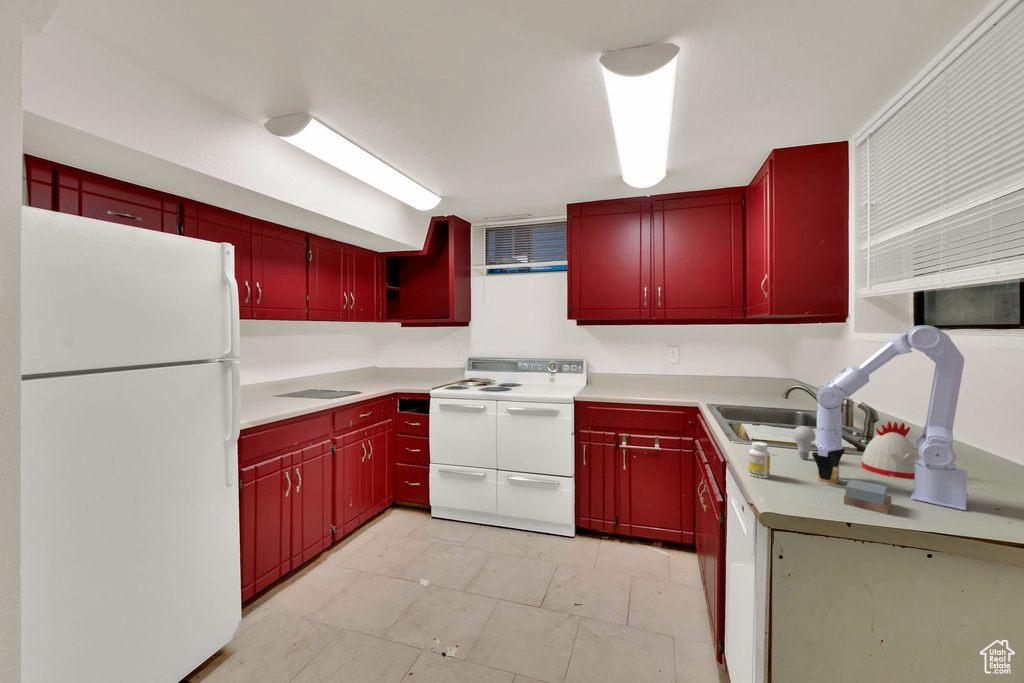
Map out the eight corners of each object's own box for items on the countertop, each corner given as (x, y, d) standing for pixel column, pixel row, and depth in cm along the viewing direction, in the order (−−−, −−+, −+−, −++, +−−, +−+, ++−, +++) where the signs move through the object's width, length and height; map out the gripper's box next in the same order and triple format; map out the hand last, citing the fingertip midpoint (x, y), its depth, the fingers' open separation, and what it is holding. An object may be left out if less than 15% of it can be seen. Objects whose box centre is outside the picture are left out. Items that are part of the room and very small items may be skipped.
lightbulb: (819, 461, 135) (820, 428, 135) (800, 462, 135) (801, 428, 135) (806, 456, 141) (807, 423, 141) (788, 456, 141) (788, 424, 141)
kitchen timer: (935, 481, 118) (936, 428, 117) (875, 476, 122) (876, 425, 122) (906, 465, 131) (907, 418, 130) (853, 461, 135) (854, 415, 135)
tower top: (886, 496, 103) (886, 486, 103) (883, 504, 98) (883, 494, 98) (850, 488, 108) (850, 479, 108) (845, 496, 103) (845, 486, 103)
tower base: (891, 506, 103) (891, 496, 103) (886, 516, 97) (887, 505, 97) (850, 496, 109) (850, 487, 109) (843, 506, 103) (843, 496, 103)
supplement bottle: (756, 479, 121) (757, 446, 120) (744, 472, 126) (744, 441, 126) (774, 478, 121) (774, 445, 121) (761, 471, 127) (761, 440, 126)
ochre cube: (838, 481, 118) (839, 467, 118) (835, 485, 116) (835, 470, 116) (821, 477, 121) (821, 464, 121) (818, 481, 119) (818, 467, 119)
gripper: (818, 422, 126) (817, 466, 126) (805, 430, 116) (804, 478, 117) (847, 426, 121) (847, 472, 121) (837, 435, 111) (836, 485, 111)
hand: (828, 475), depth 119 cm, fingers open, 7 cm apart
